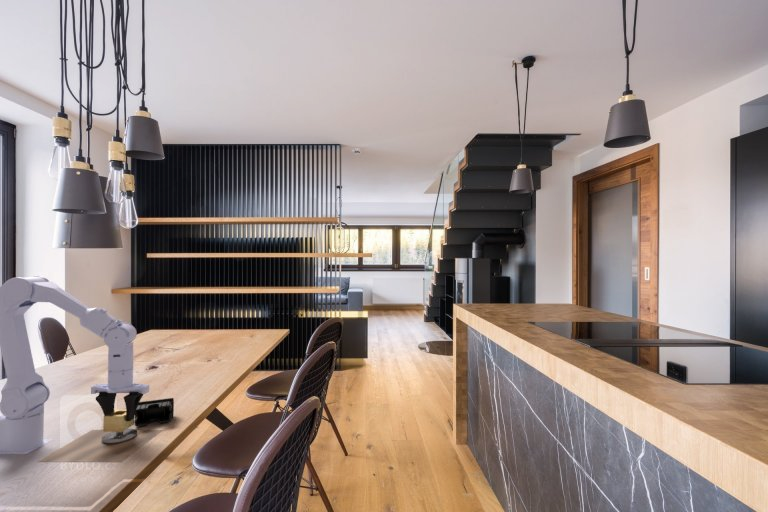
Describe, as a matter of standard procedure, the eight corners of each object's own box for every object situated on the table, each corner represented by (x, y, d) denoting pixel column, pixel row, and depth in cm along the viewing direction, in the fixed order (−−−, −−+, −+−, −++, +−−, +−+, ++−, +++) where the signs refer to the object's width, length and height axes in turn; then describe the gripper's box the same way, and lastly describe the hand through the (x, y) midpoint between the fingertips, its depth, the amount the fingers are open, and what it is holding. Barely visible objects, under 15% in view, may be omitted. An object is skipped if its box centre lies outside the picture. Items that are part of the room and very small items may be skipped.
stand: (94, 444, 103) (94, 428, 103) (114, 431, 111) (114, 416, 111) (124, 444, 103) (125, 428, 103) (143, 431, 111) (143, 416, 111)
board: (36, 464, 94) (36, 461, 94) (92, 431, 112) (92, 429, 112) (121, 464, 94) (121, 461, 94) (163, 432, 112) (163, 429, 112)
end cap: (173, 416, 123) (174, 395, 124) (172, 425, 117) (172, 402, 117) (136, 422, 119) (136, 399, 119) (132, 431, 113) (133, 407, 113)
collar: (103, 431, 104) (103, 416, 104) (116, 424, 109) (116, 409, 109) (122, 431, 104) (122, 416, 104) (134, 424, 109) (134, 409, 109)
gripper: (82, 373, 103) (81, 425, 103) (138, 373, 103) (137, 425, 103) (101, 366, 110) (101, 415, 110) (153, 366, 111) (153, 415, 110)
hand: (119, 419), depth 107 cm, fingers closed on collar, 5 cm apart
